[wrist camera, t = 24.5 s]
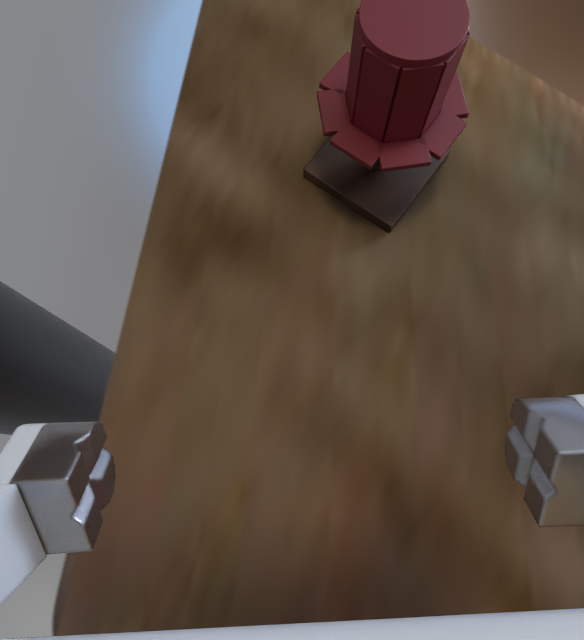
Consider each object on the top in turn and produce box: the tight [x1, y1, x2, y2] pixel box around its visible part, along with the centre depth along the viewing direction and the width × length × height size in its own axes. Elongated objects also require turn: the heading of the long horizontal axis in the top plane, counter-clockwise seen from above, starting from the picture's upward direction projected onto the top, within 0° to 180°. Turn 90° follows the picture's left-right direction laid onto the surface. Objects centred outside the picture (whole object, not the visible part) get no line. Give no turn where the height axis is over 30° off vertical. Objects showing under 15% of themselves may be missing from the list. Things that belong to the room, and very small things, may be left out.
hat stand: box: [304, 135, 451, 232], centre depth 38 cm, size 9×9×15 cm
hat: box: [317, 0, 470, 172], centre depth 34 cm, size 10×10×8 cm
